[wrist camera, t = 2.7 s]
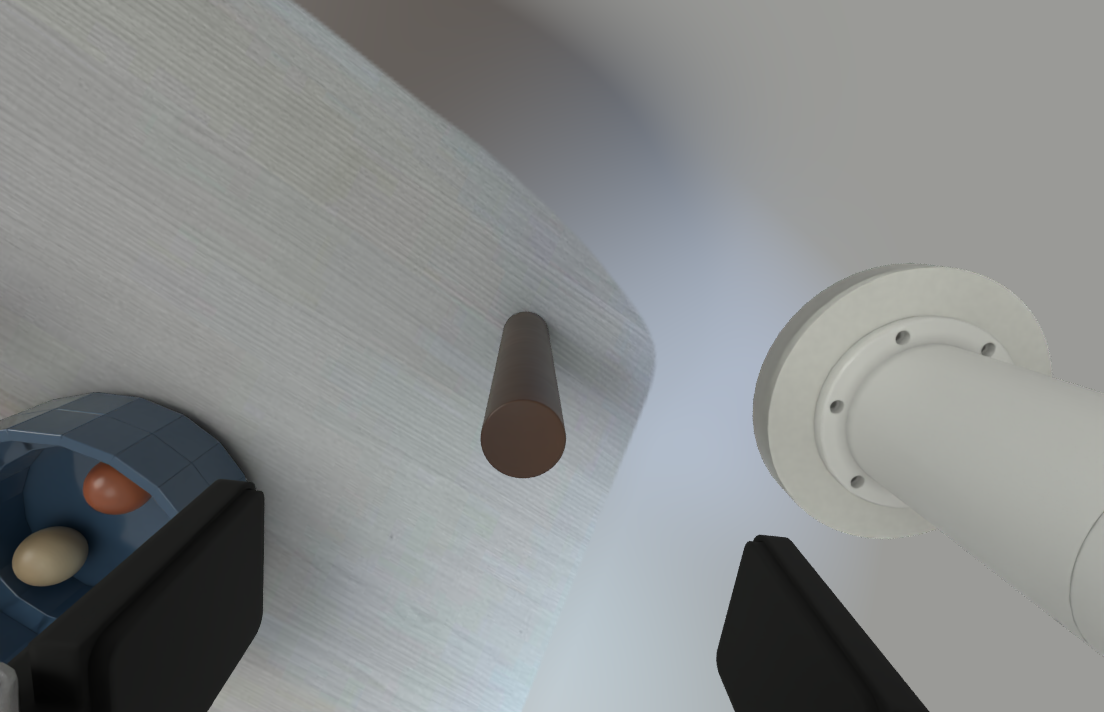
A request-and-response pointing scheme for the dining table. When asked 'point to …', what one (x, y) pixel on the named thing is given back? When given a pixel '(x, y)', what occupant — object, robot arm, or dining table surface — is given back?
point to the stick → (524, 402)
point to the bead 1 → (50, 556)
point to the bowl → (57, 495)
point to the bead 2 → (112, 491)
